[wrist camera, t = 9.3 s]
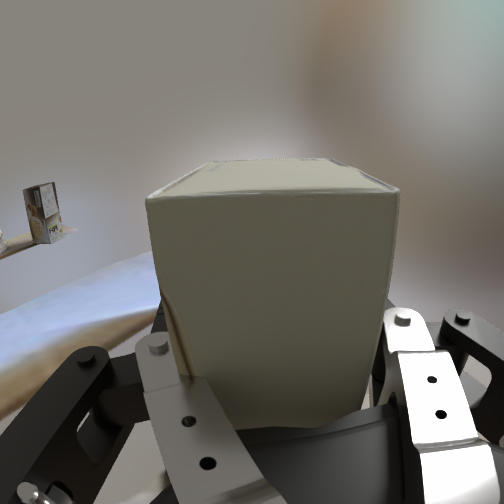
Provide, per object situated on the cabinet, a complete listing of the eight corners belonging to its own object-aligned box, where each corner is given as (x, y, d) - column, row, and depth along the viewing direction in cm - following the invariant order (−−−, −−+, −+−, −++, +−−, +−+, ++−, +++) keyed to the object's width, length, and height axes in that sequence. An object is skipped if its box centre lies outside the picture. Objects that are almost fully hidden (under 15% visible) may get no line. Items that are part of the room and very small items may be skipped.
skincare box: (235, 408, 15) (206, 161, 11) (320, 406, 14) (333, 155, 10) (220, 512, 9) (127, 192, 5) (332, 511, 9) (408, 181, 4)
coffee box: (65, 236, 76) (56, 181, 70) (51, 244, 70) (39, 186, 65) (46, 236, 78) (37, 184, 72) (32, 244, 72) (21, 189, 66)
